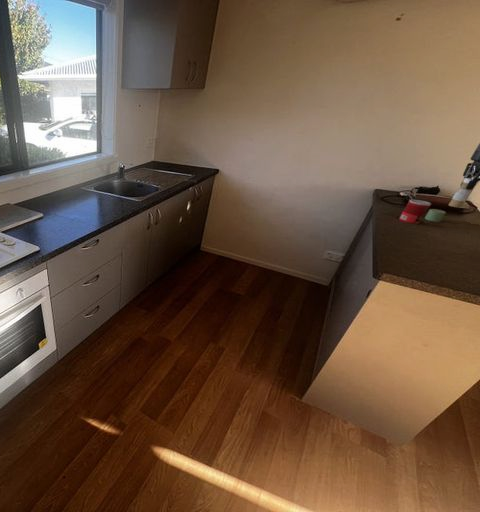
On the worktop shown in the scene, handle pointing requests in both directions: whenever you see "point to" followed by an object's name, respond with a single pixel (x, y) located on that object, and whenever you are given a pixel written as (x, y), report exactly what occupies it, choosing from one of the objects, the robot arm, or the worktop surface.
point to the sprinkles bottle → (461, 194)
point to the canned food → (414, 211)
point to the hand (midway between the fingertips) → (466, 187)
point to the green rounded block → (435, 215)
